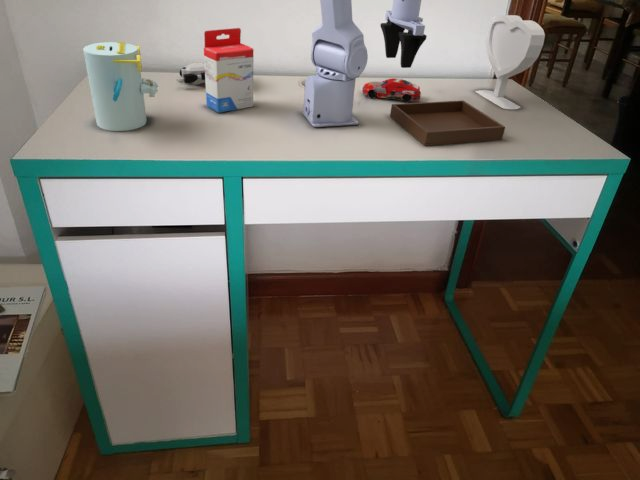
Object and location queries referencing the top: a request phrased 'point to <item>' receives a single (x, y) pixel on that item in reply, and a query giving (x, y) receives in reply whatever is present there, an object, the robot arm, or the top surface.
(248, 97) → the ink box
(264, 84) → the top surface
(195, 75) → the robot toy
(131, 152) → the top surface
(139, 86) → the character sculpture
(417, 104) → the tray
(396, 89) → the race car
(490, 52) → the heart sculpture
